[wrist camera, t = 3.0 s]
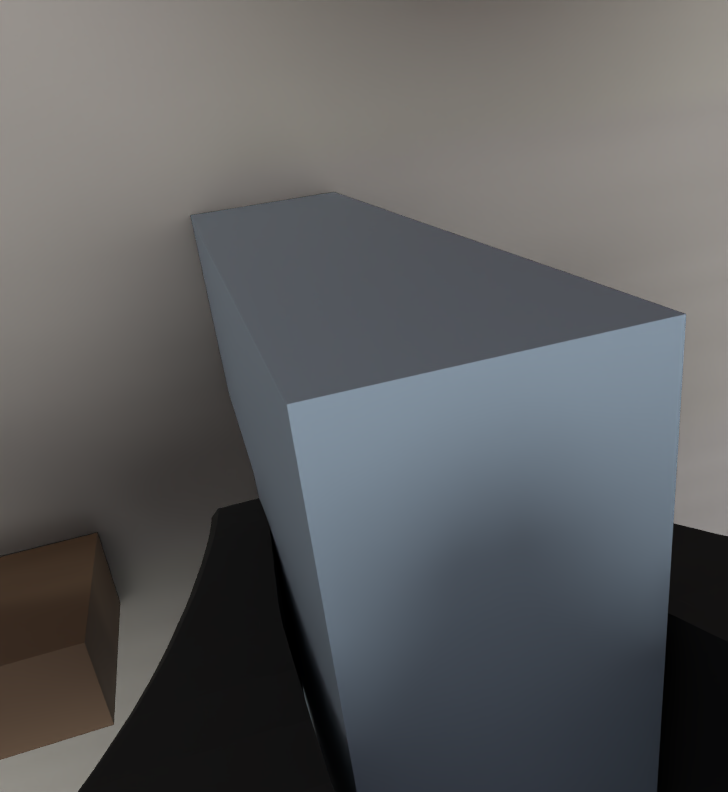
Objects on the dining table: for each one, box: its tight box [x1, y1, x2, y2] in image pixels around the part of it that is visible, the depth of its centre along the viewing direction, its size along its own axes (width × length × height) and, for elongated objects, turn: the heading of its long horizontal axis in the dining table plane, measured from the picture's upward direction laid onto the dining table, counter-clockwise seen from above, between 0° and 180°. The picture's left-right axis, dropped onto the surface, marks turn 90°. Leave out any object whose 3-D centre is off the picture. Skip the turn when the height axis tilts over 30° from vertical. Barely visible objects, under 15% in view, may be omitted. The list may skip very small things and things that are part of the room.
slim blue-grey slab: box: [190, 192, 686, 792], centre depth 9 cm, size 9×2×8 cm, turn 7°
